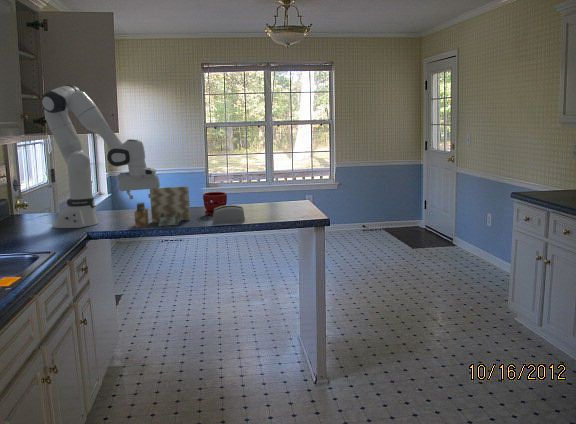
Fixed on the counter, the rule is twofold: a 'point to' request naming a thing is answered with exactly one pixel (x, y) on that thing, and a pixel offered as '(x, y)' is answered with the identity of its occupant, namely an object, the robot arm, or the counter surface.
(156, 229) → the counter surface
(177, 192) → the patterned box
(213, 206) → the plant pot
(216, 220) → the grey arched block
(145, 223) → the brown bottle
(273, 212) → the counter surface
